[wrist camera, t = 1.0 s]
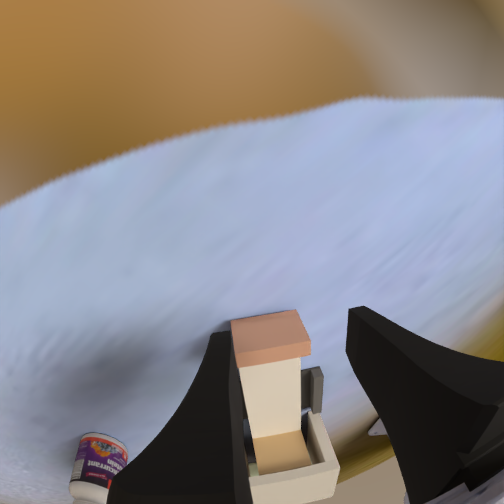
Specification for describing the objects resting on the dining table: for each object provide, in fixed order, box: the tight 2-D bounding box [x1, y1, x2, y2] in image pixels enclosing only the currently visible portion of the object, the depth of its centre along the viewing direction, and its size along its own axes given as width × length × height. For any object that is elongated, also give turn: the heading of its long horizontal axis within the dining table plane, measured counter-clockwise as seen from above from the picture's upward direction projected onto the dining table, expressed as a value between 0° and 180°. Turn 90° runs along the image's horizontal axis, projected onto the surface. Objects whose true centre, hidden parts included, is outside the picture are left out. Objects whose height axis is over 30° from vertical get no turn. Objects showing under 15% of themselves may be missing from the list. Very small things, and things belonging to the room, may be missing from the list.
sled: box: [230, 310, 312, 476], centre depth 23 cm, size 5×21×5 cm, turn 6°
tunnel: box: [244, 411, 340, 504], centre depth 25 cm, size 9×7×7 cm
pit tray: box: [239, 367, 324, 419], centre depth 25 cm, size 9×5×1 cm, turn 96°
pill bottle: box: [69, 433, 128, 504], centre depth 22 cm, size 5×5×10 cm
